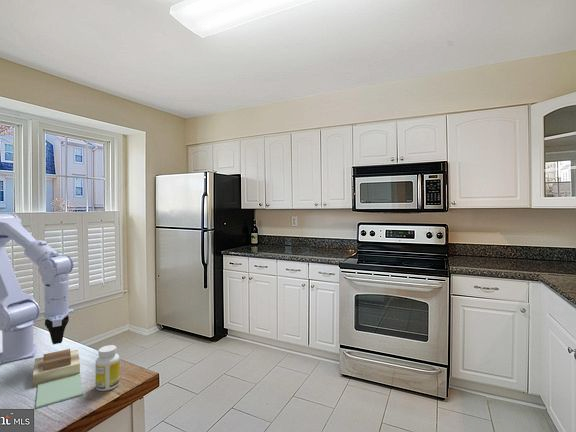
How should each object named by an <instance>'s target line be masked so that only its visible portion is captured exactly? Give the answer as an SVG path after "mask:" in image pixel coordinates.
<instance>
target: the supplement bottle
mask: <svg viewBox="0 0 576 432" xmlns="http://www.w3.org/2000/svg"><path fill="white" fill-rule="evenodd" d="M117 352H118V351H117V346H116V345H114V344H109V345H105V346H102V347H100V348H99V349H98V357H97V358H96V359H95V389H96V390H97V391H98V392H99V391H100V392H105V391H111V390H112V389H115V388H116V387H117V386H119V384H120V380H121V378H120V375H121V374H120V373H121V372H120V355H119V354H118V353H117Z"/></svg>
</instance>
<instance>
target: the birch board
mask: <svg viewBox="0 0 576 432" xmlns="http://www.w3.org/2000/svg"><path fill="white" fill-rule="evenodd" d="M70 353H71V364H70V365H66V366H62V367H58V368H54V369H49V370H45V371H43V357H44V356H43V357H38V358H35V359H34V366H33V371H32V372H33V374H32V387H36V386H37V387H38V384H40V383H44V382H48V381H52V380H56V379H60V378H64V377H68V376H72V375H76V374H80V375H81V362H80V361H81V360H80V356H79V355H80V354H79V350H78V349H76V350H70Z"/></svg>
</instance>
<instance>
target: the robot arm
mask: <svg viewBox="0 0 576 432" xmlns="http://www.w3.org/2000/svg"><path fill="white" fill-rule="evenodd" d="M22 222H23V221H22V218H20V217H19V216H18V215H17V214H15V213H11V212H10V213H0V331H1V336H2V337H1V339H2V346H1V347H2V351H1V352H2V353H1V356H0V364H4V363H5V364H6V363H9V362H14V361H19V360H24V359H27V358H34V357H35V355H36V349H37V344H36V343H34V324H35V323H36V322H37V320H38V319H39V317H40V316H41V307H40V305H39V303H38V302H37V301H36V300H35V297H34V296H33V295H32V294H29V293H26V292H24V291H22V288H21V285H20V282H19V280H18V277H17V275H16V273H15V270H14V267H13V265H12V261H11V260H10V258H9V255H8V252H7V250H6V247H5V246H6V244H7V243H9V242H10V241H11V240H12V241H14V242H15V243H16V244H18V245H19V246H20V247H22V248H23V249H24V251H23V253H24V255H25V256H26V257H27V258H28V259H29V260H30V261H32V262H33V263H34V264H35V265H37V268H38V273H39V275H40V276H41V282H42V284H44V285H43V288H44V289H43V293H44V297H43V299H44V313H43V318H44V319H45V320H44V325H45V327H46V329H47V330H48V333H49V335H50V339H51V343H52V345H59V344H62V343H63V339H64V335H65V330H66V327H67V325H68V323H69V322H70V321H69V314H72V313H74V309H73V308H69V307H70V305H69V303H70V302H69V300H70V299H69V295H70V294H69V289H70V288H69V274H70V273H72V271H73V270H74V260H73V259H72V258H71V256H70V255H68V254H62V253H58V252H57V251H56V250H55V249H54V248H53V247H52V246H50V245H49V244H48V242H47V241H46V240H42V239H41V240H40V239H39V240H37V239H36V238H34V237H33V235H32V234H31V233H30V232H28V230H27V229H26V228H25V227H24V225H23V224H22Z"/></svg>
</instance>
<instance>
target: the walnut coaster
mask: <svg viewBox="0 0 576 432" xmlns="http://www.w3.org/2000/svg"><path fill="white" fill-rule="evenodd" d="M70 351H71V348H67V349H63V350H62V349H61V350H58V351H54V352H49V353H43V371H45V370H49V369H54V368H58V367H62V366H66V365H70V364H71V353H70Z"/></svg>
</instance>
